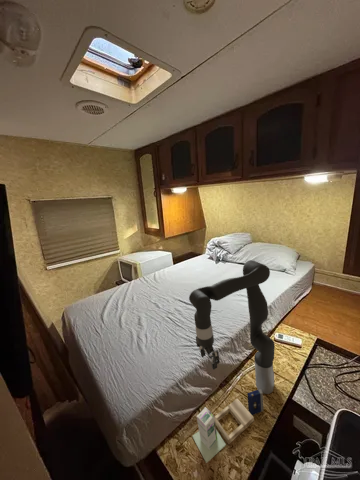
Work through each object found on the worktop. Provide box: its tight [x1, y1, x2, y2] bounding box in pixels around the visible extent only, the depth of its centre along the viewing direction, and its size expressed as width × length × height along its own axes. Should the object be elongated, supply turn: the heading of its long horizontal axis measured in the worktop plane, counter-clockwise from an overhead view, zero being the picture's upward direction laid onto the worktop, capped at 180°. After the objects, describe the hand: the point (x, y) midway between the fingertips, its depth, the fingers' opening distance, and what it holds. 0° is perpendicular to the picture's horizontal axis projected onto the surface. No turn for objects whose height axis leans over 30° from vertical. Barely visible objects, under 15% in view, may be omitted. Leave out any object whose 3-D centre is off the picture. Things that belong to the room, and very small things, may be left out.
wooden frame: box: [214, 398, 255, 445], centre depth 95 cm, size 16×11×2 cm, turn 119°
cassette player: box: [247, 389, 265, 416], centre depth 97 cm, size 7×2×12 cm, turn 103°
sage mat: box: [192, 429, 227, 464], centre depth 89 cm, size 11×11×1 cm
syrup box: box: [196, 406, 217, 450], centre depth 88 cm, size 6×6×14 cm
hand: (208, 361), depth 91 cm, fingers open, 8 cm apart
